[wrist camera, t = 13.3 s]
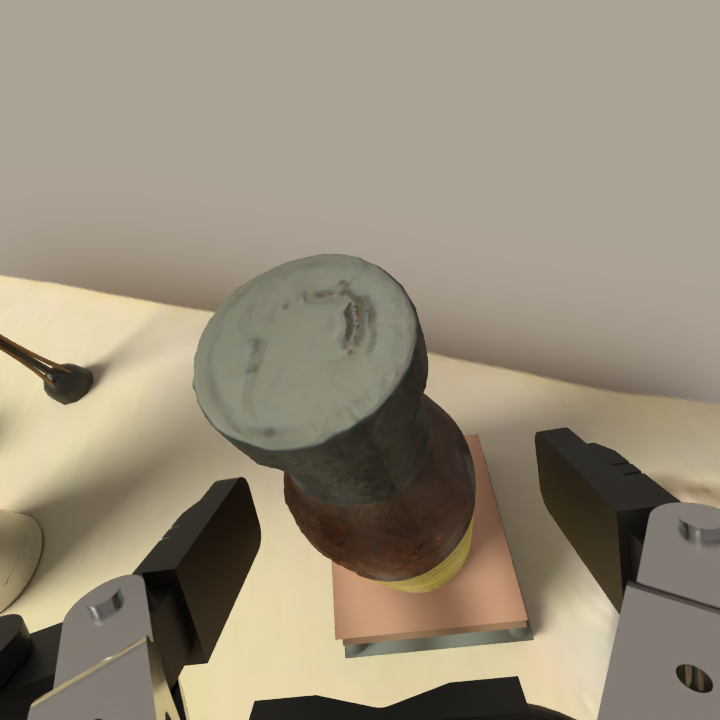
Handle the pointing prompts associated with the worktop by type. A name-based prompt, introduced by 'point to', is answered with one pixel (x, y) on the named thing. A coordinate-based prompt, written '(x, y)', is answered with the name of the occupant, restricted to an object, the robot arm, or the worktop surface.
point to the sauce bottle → (343, 417)
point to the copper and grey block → (439, 595)
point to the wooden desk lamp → (52, 373)
